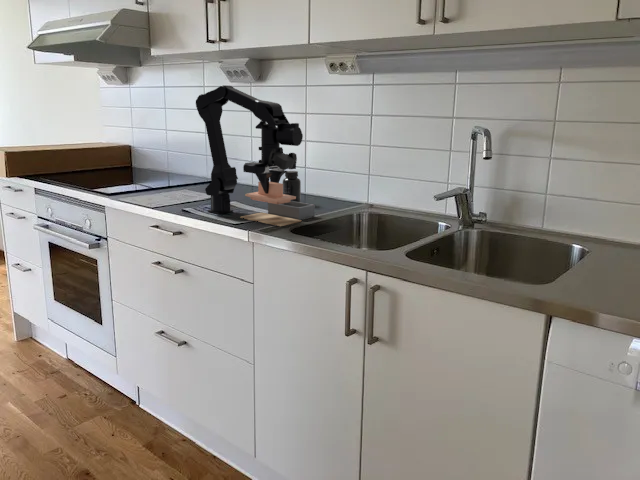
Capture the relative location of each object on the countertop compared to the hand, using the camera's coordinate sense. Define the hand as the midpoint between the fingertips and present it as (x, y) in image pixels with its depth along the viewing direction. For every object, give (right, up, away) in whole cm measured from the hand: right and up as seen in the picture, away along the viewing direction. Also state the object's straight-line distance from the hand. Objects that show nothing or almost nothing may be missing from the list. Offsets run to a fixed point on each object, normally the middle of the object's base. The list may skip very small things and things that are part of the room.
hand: (270, 192), depth 178 cm
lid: (0, -1, 0) cm, 2 cm away
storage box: (+6, -7, +10) cm, 13 cm away
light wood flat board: (0, -9, +2) cm, 9 cm away
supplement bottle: (+5, -1, +32) cm, 32 cm away
